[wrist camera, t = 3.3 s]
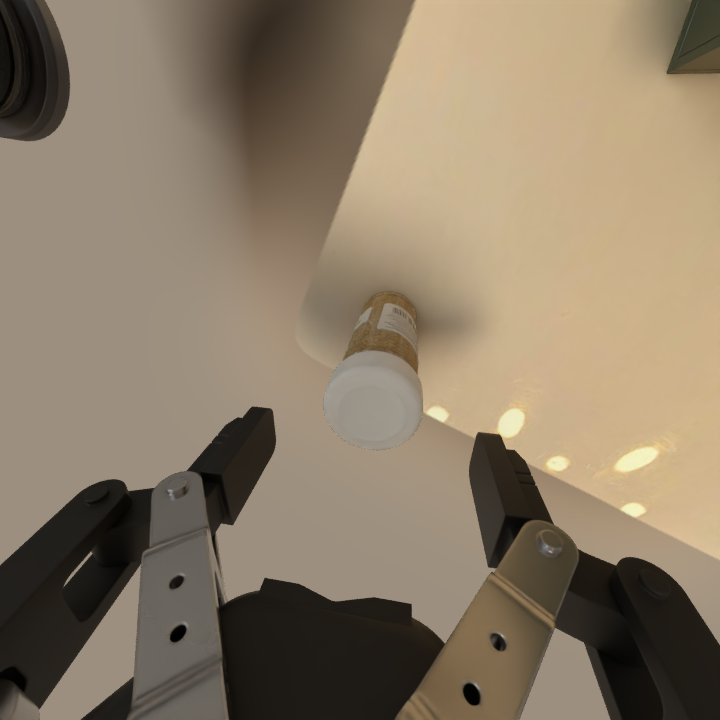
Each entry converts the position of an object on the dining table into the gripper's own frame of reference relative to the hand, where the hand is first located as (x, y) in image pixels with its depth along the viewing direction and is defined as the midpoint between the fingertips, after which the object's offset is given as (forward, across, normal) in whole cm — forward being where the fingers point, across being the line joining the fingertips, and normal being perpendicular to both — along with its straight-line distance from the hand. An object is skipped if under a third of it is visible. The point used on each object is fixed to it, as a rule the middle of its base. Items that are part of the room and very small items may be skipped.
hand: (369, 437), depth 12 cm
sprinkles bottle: (+15, 0, 0) cm, 15 cm away
